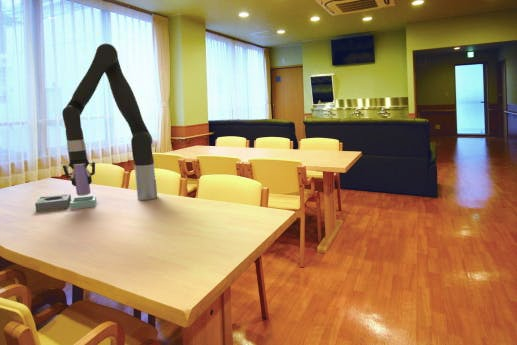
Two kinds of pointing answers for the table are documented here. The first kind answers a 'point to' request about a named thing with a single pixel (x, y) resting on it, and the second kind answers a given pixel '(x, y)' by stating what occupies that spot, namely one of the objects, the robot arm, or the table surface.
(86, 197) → the teal square frame
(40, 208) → the port
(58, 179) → the table surface
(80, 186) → the beverage can
